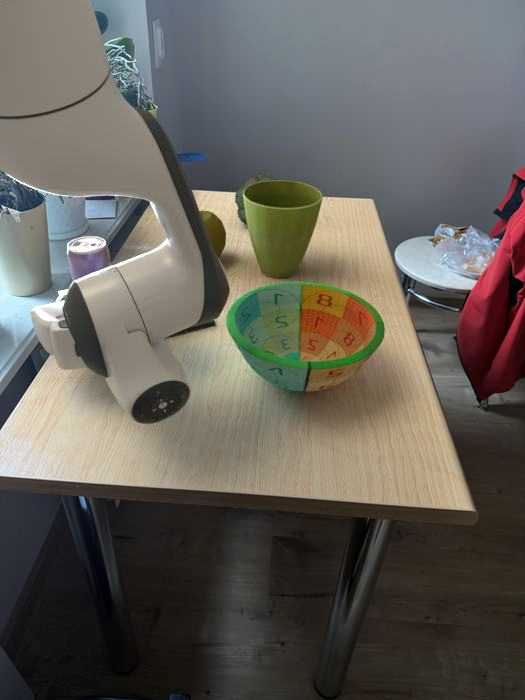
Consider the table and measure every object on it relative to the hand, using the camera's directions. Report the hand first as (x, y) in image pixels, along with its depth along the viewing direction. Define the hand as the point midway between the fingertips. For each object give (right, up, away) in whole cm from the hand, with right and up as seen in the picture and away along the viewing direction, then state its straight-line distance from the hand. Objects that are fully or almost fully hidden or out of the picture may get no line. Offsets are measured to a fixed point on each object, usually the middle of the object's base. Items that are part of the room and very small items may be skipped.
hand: (95, 287), depth 80 cm
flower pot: (+29, +7, +28) cm, 41 cm away
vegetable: (+24, +21, +48) cm, 58 cm away
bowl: (+31, -13, +1) cm, 34 cm away
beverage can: (-1, -6, +7) cm, 9 cm away
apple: (+13, +9, +31) cm, 35 cm away
